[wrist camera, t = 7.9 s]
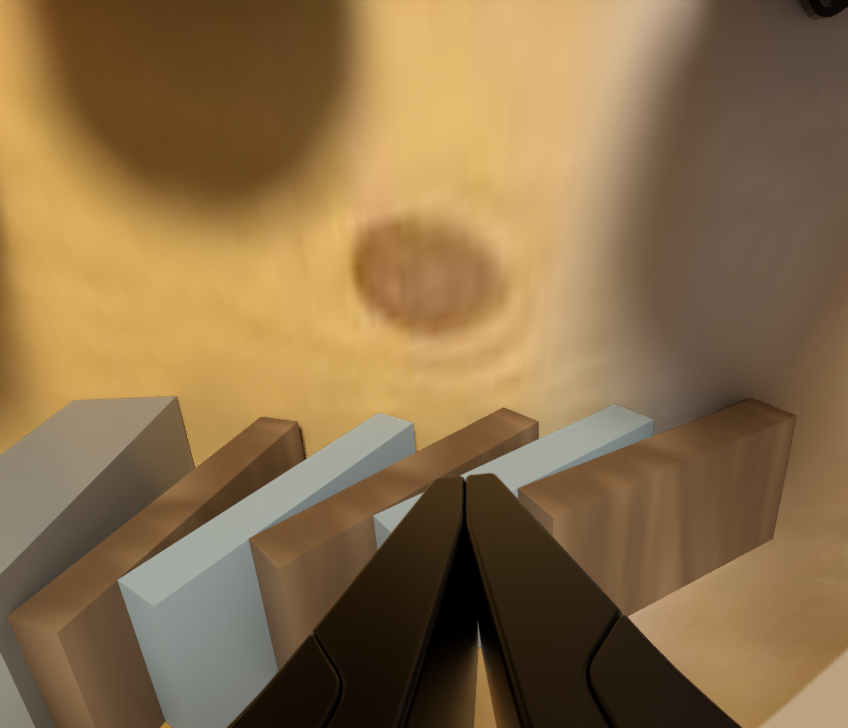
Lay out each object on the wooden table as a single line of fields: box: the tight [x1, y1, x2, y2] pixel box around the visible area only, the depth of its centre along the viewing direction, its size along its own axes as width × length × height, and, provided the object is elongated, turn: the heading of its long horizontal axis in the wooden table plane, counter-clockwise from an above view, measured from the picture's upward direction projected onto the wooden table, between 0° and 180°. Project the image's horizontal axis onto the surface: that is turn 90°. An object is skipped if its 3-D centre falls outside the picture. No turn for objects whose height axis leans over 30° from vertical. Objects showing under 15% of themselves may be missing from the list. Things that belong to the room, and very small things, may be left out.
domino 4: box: [373, 404, 654, 648], centre depth 19 cm, size 2×5×10 cm
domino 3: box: [249, 408, 539, 671], centre depth 19 cm, size 2×5×10 cm
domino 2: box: [117, 413, 416, 728], centre depth 19 cm, size 2×5×10 cm
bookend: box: [0, 396, 195, 728], centre depth 19 cm, size 4×7×10 cm, turn 4°
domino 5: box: [518, 398, 796, 617], centre depth 19 cm, size 2×5×10 cm
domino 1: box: [7, 417, 304, 728], centre depth 19 cm, size 2×5×10 cm, turn 3°
